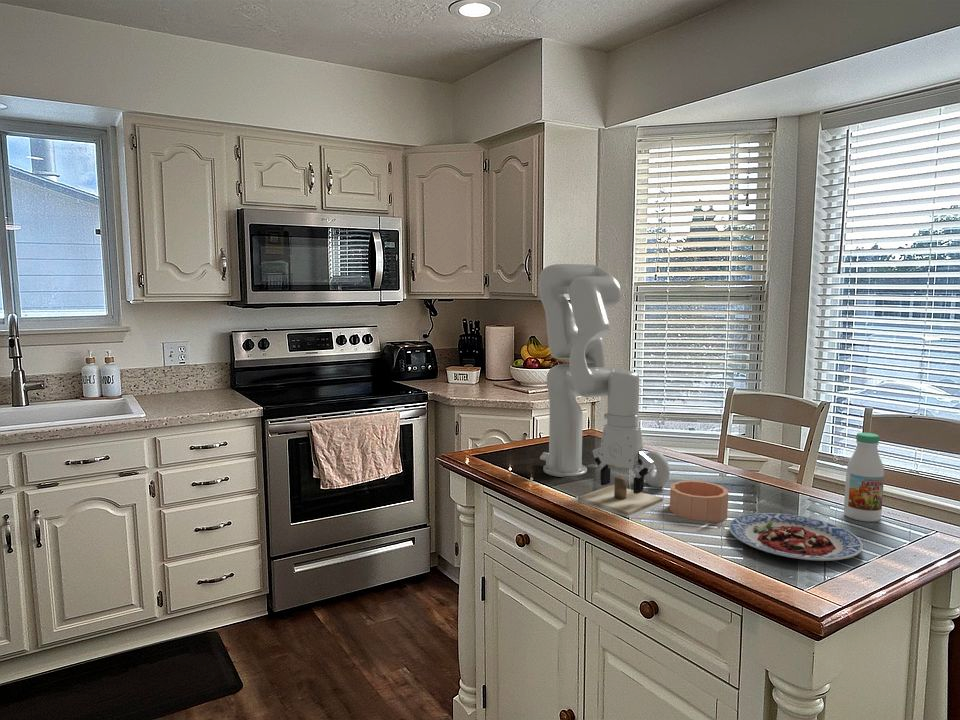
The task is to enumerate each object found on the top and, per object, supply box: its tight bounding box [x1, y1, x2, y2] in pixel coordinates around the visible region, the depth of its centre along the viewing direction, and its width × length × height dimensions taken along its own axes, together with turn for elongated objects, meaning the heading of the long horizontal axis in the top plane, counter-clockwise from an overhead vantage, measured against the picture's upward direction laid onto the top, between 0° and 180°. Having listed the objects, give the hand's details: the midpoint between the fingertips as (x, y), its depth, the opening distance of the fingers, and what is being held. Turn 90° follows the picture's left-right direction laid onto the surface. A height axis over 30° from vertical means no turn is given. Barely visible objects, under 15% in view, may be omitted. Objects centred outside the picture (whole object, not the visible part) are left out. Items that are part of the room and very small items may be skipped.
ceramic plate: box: [728, 512, 864, 562], centre depth 142 cm, size 26×26×3 cm
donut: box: [642, 450, 670, 489], centre depth 179 cm, size 10×4×10 cm, turn 23°
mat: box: [571, 489, 670, 519], centre depth 167 cm, size 18×17×1 cm
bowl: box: [669, 479, 729, 524], centre depth 159 cm, size 13×13×6 cm
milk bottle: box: [843, 432, 885, 523], centre depth 156 cm, size 8×8×20 cm
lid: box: [577, 476, 664, 515], centre depth 166 cm, size 15×15×6 cm
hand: (621, 488), depth 166 cm, fingers open, 9 cm apart
